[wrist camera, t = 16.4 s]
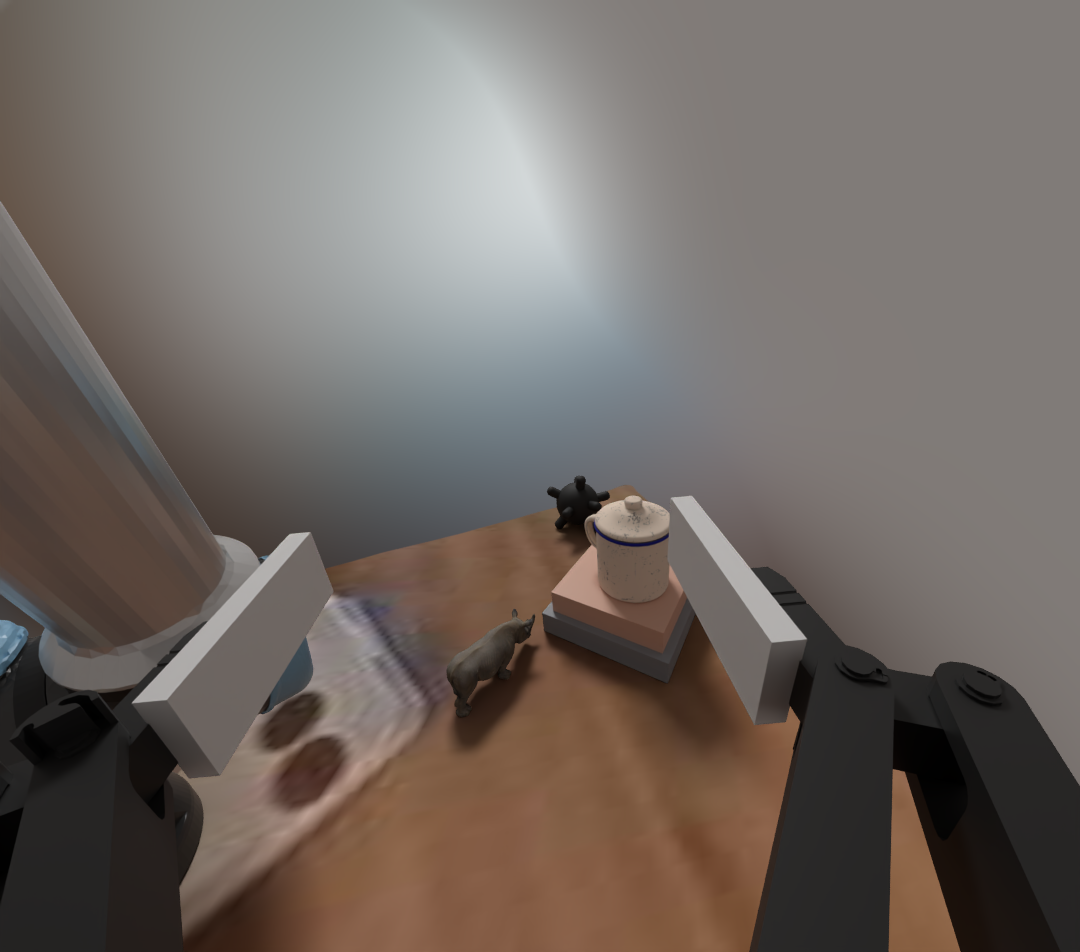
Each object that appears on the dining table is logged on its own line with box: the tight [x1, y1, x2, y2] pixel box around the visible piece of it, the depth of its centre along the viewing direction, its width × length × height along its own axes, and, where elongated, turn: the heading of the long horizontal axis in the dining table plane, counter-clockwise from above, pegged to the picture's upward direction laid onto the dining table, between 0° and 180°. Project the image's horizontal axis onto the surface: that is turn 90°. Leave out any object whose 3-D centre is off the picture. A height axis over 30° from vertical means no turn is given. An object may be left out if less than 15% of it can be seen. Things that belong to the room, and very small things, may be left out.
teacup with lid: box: [584, 496, 670, 603], centre depth 50 cm, size 12×9×12 cm
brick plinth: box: [542, 545, 696, 684], centre depth 54 cm, size 16×16×6 cm
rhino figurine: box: [447, 609, 535, 717], centre depth 47 cm, size 4×14×6 cm, turn 139°
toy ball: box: [547, 476, 610, 532], centre depth 73 cm, size 11×11×12 cm
